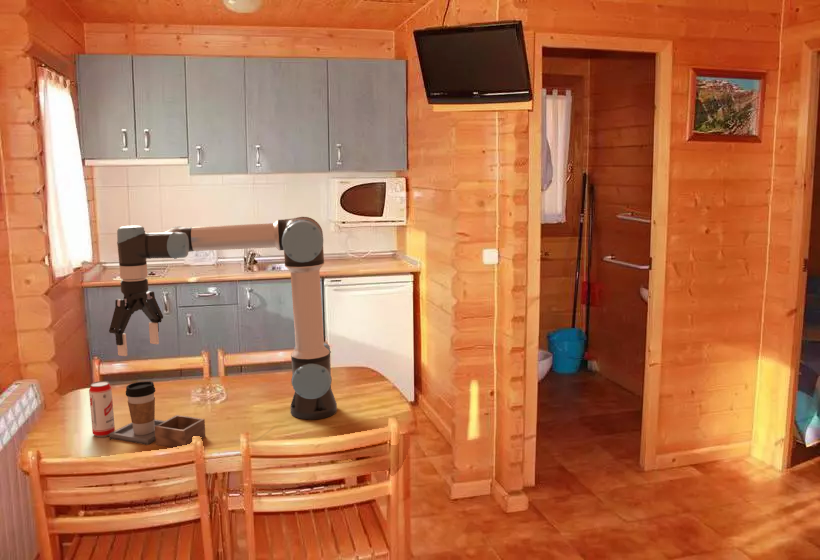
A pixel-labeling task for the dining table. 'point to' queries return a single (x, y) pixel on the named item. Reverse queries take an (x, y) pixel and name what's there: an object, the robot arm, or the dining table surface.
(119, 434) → the slate tray
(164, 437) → the walnut crate
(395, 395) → the dining table surface
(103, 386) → the beer can
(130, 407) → the coffee cup
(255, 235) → the robot arm
